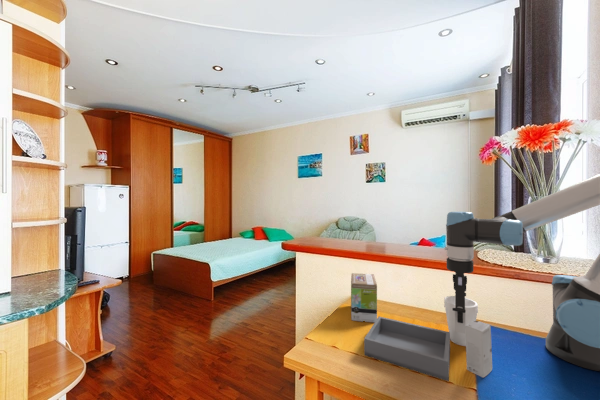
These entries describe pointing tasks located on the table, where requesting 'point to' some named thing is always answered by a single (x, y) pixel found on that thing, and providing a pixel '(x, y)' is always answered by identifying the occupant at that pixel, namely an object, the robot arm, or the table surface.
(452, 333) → the foam cup
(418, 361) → the tote
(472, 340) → the skincare box
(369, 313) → the tea box
